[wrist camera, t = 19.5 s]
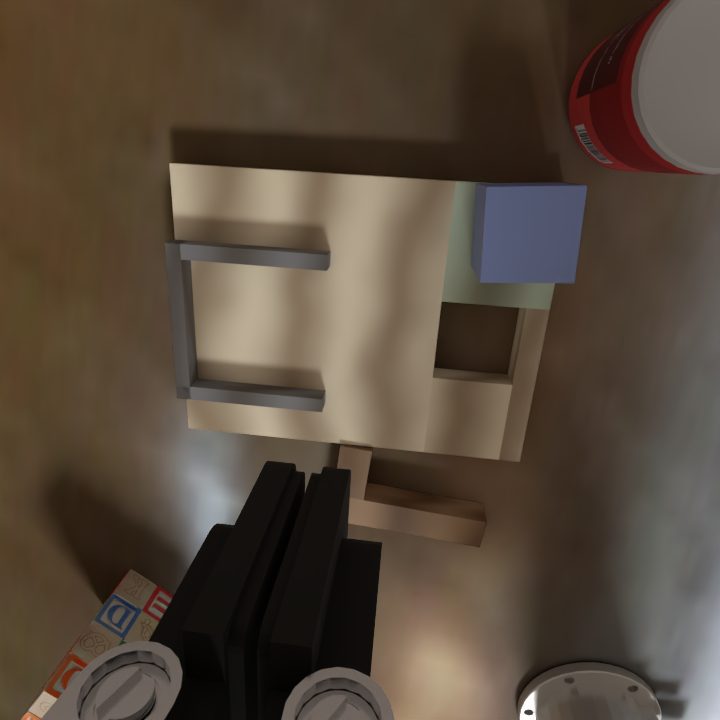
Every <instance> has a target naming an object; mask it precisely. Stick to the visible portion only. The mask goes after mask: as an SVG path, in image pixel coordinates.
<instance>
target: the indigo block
mask: <svg viewBox="0 0 720 720" xmlns="http://www.w3.org/2000/svg"><path fill="white" fill-rule="evenodd" d="M586 193H587V185H580V184H572V183H564V182H535V183H476V192H475V208H474V225H473V242H472V259H471V267H472V268H473V270H474V272H475V274H476V276H477V278H478V280H479V281H480V283H575V275H576V268H577V260H578V253H579V245H580V238H581V230H582V223H583V215H584V208H585V200H586Z"/></svg>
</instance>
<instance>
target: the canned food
mask: <svg viewBox="0 0 720 720" xmlns="http://www.w3.org/2000/svg"><path fill="white" fill-rule="evenodd" d="M569 119H570V125H571V129H572V132H573V134H574V136H575V139H576V141H577V142H578V144H579V145H580V147H581V148H582V150H583V151H584V152H585V153H586V154H587V155H588V156H589V157H591V158H592V159H593V160H594V161H596V162H598V163H600V164H601V165H603V166H606V167H609V168H612V169H615V170H623V171H638V172H658V173H679V174H699V175H702V174H713V175H715V174H720V0H663V1H662V2H660V3H659V4H657V5H656V6H654V7H653V8H651V9H650V10H648V11H647V12H645V13H644V14H642V15H641V16H639V17H638V18H637V19H635V20H634V21H632V22H631V23H629V24H628V25H626V26H625V27H623V28H622V29H620V30H619V31H617V32H616V33H614V34H613V35H611V36H610V37H608V38H607V39H606V40H604V41H603V42H602V43H601V44H599V45H598V46H597V47H596V48H595V49H594V50H593V51H592V52H591V53H590V55H589V56H588V57H587V58H586V59H585V61H584V62H583V64H582V66H581V67H580V69H579V71H578V72H577V74H576V77H575V80H574V82H573V85H572V88H571V93H570V98H569Z"/></svg>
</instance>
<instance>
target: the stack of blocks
mask: <svg viewBox="0 0 720 720" xmlns="http://www.w3.org/2000/svg"><path fill="white" fill-rule="evenodd" d="M172 598H173V596H172V595H171V594H169V593H168V592H166V591H165V590H163V589H162V588H160V587H158V586H157V585H156V584H154V583H152V582H151V581H149V580H148V579H146V578H145V577H143V576H142V575H140V574H138V573H137V572H135V571H134V570H132V569H130V570H129V571H128V573H127V574H126V575H125V577H124V578H123V579H122V580H121V582H120V583H119V584H118V586H117V587H116V588H115V590H114V591H113V592H112V594H111V595H110V597H109V598H108V599H107V600H106V602H105V603H104V604H103V605H102V607H101V608H100V609H99V611H98V612H97V614H96V615H95V616H94V618H93V619H92V621H91V622H90V623H89V625H88V626H87V628H86V629H85V630H84V632H83V633H82V634H81V636H80V637H79V638H78V640H77V641H76V642H75V644H74V645H73V647H72V648H71V649H70V651H69V652H68V653H67V655H66V656H65V657H64V659H63V660H62V661H61V663H60V664H59V665H58V667H57V668H56V670H55V671H54V672H53V674H52V675H51V676H50V678H49V679H48V681H47V682H46V683H45V685H44V686H43V687H42V689H41V690H40V692H39V694H38V695H37V697H36V698H35V700H34V701H33V702H32V704H31V705H30V707H29V708H28V709H27V711H26V712H25V714H24V715H23V716H22V718H21V719H20V720H40V719H41V718H42V717H43V716H44V715H45V713H46V712H47V711H48V710H49V709H50V707H51V706H52V705H53V704H54V703H55V701H56V700H57V699H58V698H59V697H60V695H61V694H62V693H63V692H64V691H65V689H66V688H67V687H68V686H69V685H70V683H71V682H72V681H73V680H74V679H75V677H76V676H77V675H78V674H79V673H80V672H81V671H82V670H83V669H84V668H85V667H86V666H87V665H88V664H89V663H90V662H91V661H92V660H94V659H95V658H97V657H98V656H100V655H101V654H103V653H105V652H106V651H108V650H110V649H112V648H115V647H117V646H120V645H123V644H125V643H131V642H138V641H149V639H150V637H151V636H152V634H153V632H154V630H155V628H156V627H157V625H158V623H159V621H160V619H161V618H162V616H163V614H164V612H165V611H166V609H167V607H168V605H169V603H170V602H171V600H172Z"/></svg>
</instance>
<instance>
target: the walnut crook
mask: <svg viewBox="0 0 720 720" xmlns="http://www.w3.org/2000/svg"><path fill="white" fill-rule="evenodd" d="M372 449H373V447H369V446H359V445H349V444H341V445H340V451H339V458H338V464H337V468H340V469H349V470H351V485H350V501H349V518H348V523H350V524H356V525H361V526H367V527H372V528H378V529H383V530H388V531H394V532H399V533H405V534H410V535H416V536H421V537H426V538H432V539H437V540H443V541H448V542H454V543H459V544H464V545H470V546H475V547H480V544H481V541H482V537H483V534H484V530H485V527H486V524H487V521H486V516H485V512H484V507H483V504H482V503H477V502H471V501H466V500H460V499H455V498H449V497H444V496H438V495H433V494H428V493H422V492H417V491H411V490H406V489H400V488H395V487H389V486H384V485H378V484H373V483H367V477H368V472H369V466H370V460H371V455H372Z"/></svg>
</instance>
